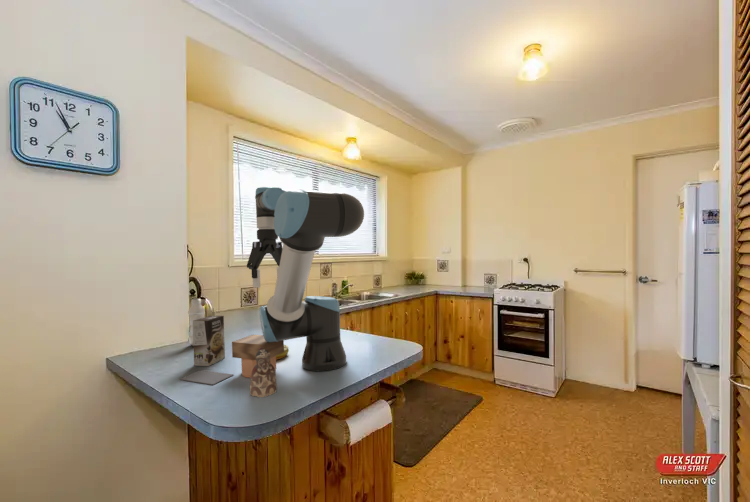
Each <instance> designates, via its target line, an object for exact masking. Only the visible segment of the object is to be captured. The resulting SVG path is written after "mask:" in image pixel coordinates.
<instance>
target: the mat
mask: <svg viewBox="0 0 750 502" xmlns="http://www.w3.org/2000/svg"><path fill="white" fill-rule="evenodd" d="M233 376H234V373H233V374H232V373H224V372H217V371H211V370H204V369H201V370H198V371H195V372H193V373H191V374H189V375H186V376H184V377H180V378H179V380H180V381H183V382H190V383H198V384H202V385H208V386H209V385H210V386H215V385H217V384H219V383H220V382H223V381H224V380H227V379H229V378H231V377H233Z"/></svg>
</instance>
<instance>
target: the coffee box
mask: <svg viewBox="0 0 750 502" xmlns="http://www.w3.org/2000/svg"><path fill="white" fill-rule="evenodd" d="M224 319H225V317H224V315H209V316H204V318H200V319H197V320H193V346H192V348H193V366H196V367H197V366H199V367H200V366H201V367H202V366H203V367H210V366H212V365H213V364H216V363H218V362H220V361H221V360H223V359H226V352H225V351H226V349H225V348H226V346H225V344H226V343H225V320H224Z"/></svg>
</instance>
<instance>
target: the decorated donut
mask: <svg viewBox="0 0 750 502" xmlns="http://www.w3.org/2000/svg"><path fill="white" fill-rule="evenodd" d="M289 349H290V348H289V346H288V345H287V344H284V352H283V353H281V354H279V355H276V361H278V360H282V359H283V358H285V357H287V355H288V353H289V351H290V350H289Z"/></svg>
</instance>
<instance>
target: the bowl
mask: <svg viewBox="0 0 750 502" xmlns="http://www.w3.org/2000/svg"><path fill="white" fill-rule="evenodd" d="M240 359H241V361H240V362H241V376H242V377H243V378H248V379H251V372H252V369H253V368H254V366H255V365H257V362H256V360H251V359H242V358H240ZM270 364H272V365H273V367H274V368H275V372H276V370H277V360H276V356H274V357H272V358H270Z"/></svg>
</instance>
